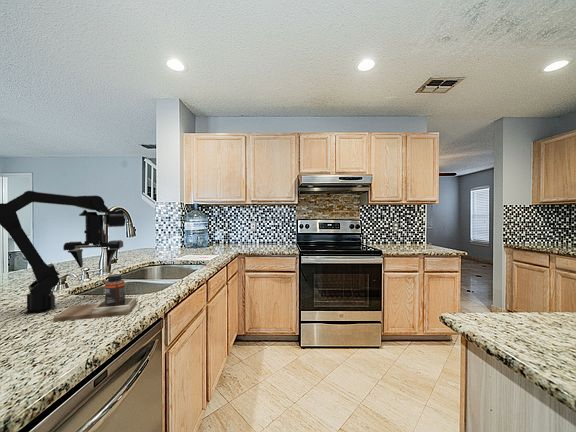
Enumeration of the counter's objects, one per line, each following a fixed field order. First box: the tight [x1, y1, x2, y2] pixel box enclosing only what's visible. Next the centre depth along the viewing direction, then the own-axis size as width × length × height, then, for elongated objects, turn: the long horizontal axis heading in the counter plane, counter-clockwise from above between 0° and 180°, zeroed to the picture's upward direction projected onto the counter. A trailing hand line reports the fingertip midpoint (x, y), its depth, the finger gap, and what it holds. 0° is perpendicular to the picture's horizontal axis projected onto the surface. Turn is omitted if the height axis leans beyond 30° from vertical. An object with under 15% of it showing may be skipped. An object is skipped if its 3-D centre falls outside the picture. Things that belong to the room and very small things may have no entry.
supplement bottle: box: [104, 273, 126, 307], centre depth 97 cm, size 6×6×11 cm
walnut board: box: [52, 296, 138, 323], centre depth 96 cm, size 21×12×3 cm, turn 106°
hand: (94, 267), depth 109 cm, fingers open, 9 cm apart
